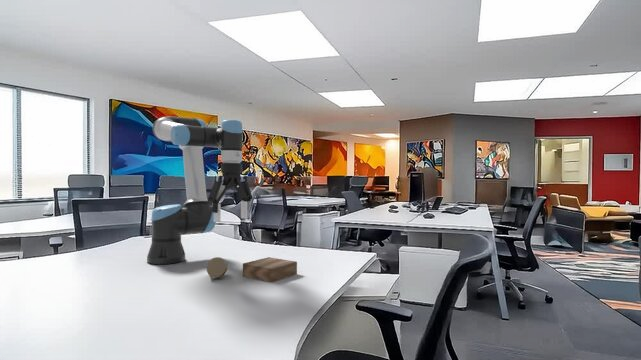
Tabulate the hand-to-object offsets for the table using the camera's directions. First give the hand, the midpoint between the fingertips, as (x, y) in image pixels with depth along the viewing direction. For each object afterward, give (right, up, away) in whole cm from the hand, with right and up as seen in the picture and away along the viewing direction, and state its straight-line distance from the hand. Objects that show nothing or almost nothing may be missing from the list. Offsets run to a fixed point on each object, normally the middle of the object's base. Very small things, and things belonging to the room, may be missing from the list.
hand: (231, 220), depth 144 cm
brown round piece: (-5, -21, -1) cm, 21 cm away
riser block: (+14, -21, 0) cm, 25 cm away
